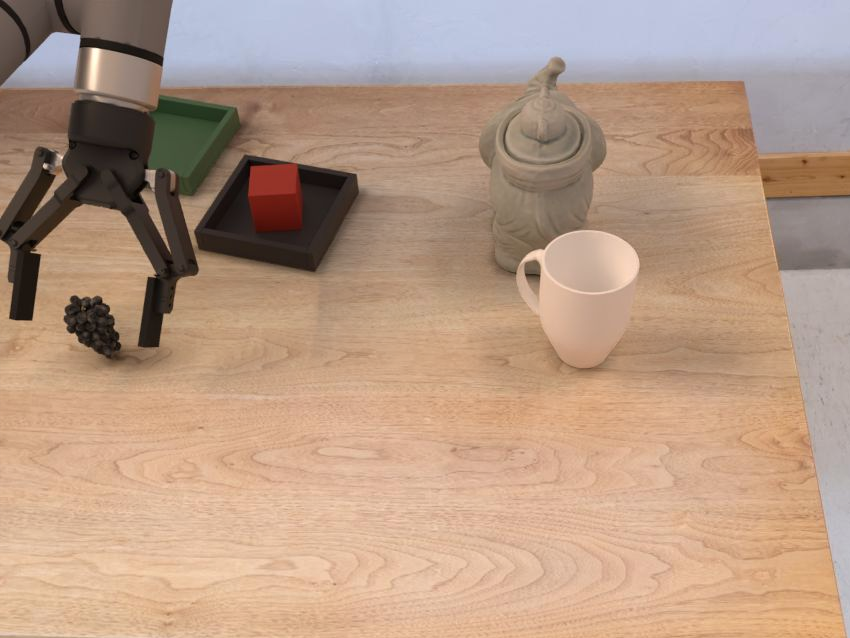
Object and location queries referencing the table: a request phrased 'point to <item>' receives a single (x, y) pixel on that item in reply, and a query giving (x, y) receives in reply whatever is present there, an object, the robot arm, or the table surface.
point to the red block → (275, 197)
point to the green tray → (190, 138)
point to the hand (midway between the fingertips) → (83, 333)
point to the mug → (583, 293)
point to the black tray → (302, 249)
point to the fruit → (92, 324)
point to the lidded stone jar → (539, 168)
